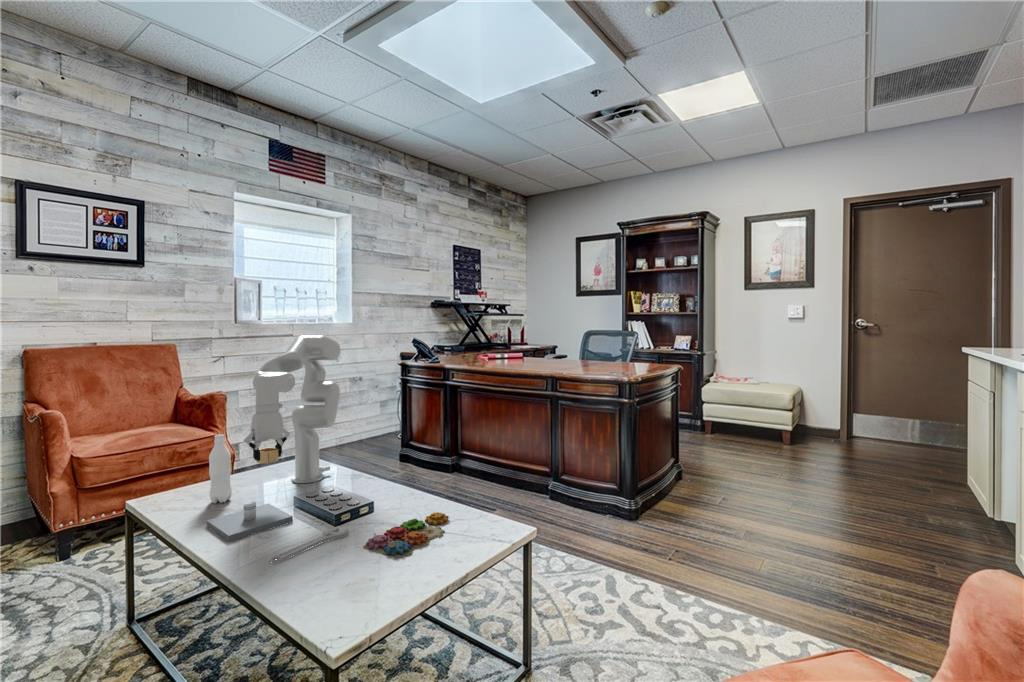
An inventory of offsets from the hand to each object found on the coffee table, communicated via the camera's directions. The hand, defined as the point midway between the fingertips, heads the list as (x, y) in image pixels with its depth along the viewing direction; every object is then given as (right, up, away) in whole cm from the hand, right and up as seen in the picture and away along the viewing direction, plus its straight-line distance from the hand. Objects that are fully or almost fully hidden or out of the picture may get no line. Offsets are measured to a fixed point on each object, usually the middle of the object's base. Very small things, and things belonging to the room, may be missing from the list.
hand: (267, 457), depth 181 cm
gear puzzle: (+57, -20, -21) cm, 64 cm away
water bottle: (-21, -18, +7) cm, 29 cm away
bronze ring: (0, -1, 0) cm, 1 cm away
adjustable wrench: (+27, -20, -29) cm, 45 cm away
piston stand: (+1, -19, -14) cm, 23 cm away
